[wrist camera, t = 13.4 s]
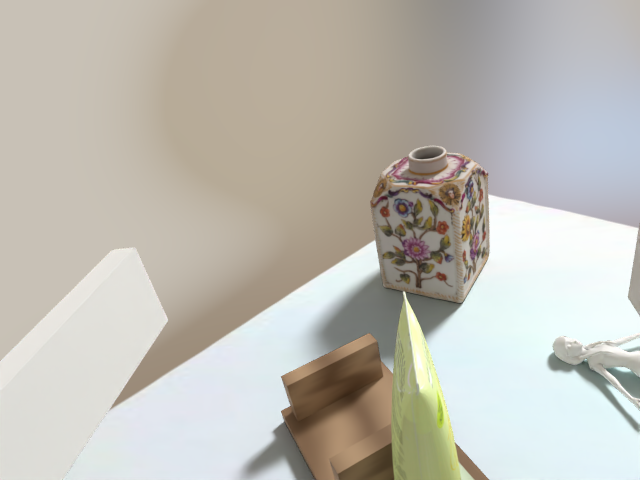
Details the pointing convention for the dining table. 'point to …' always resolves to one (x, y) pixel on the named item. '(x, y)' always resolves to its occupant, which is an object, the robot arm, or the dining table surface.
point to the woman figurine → (601, 358)
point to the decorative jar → (432, 223)
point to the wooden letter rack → (348, 415)
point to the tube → (419, 410)
